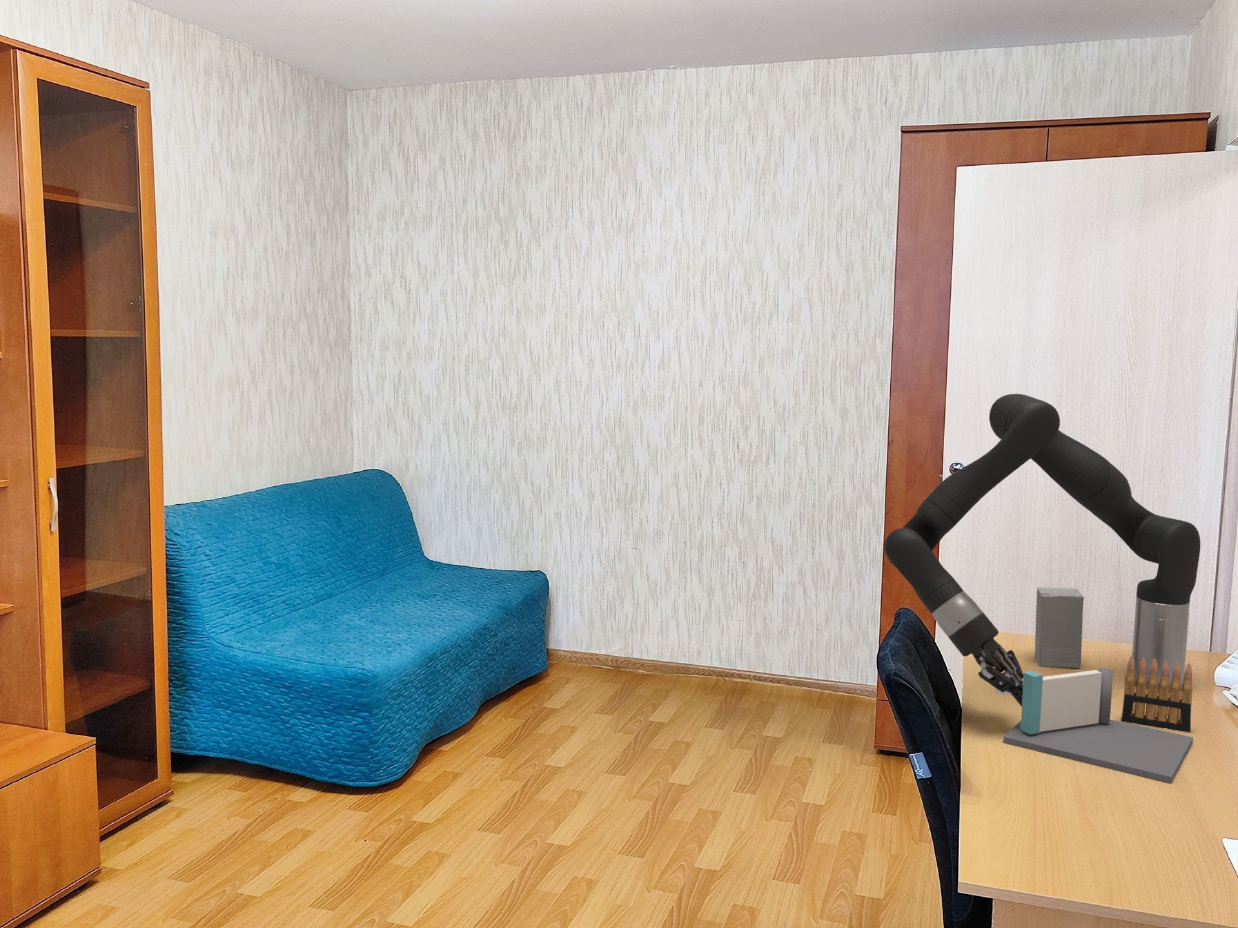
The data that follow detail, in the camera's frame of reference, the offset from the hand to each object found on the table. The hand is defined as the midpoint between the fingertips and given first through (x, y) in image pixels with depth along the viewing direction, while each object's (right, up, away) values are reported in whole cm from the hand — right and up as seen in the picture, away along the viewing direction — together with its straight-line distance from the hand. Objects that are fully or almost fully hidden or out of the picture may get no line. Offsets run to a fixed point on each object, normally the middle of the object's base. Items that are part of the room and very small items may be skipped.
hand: (1031, 706), depth 170 cm
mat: (+10, -5, -3) cm, 12 cm away
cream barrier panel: (+6, -3, +1) cm, 7 cm away
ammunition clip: (+24, -5, +5) cm, 25 cm away
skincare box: (+21, -1, +39) cm, 44 cm away
